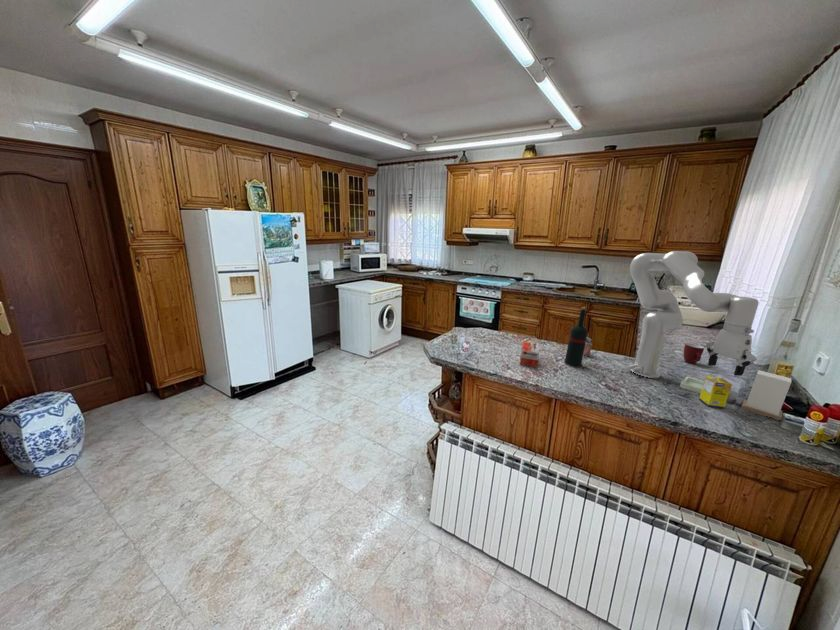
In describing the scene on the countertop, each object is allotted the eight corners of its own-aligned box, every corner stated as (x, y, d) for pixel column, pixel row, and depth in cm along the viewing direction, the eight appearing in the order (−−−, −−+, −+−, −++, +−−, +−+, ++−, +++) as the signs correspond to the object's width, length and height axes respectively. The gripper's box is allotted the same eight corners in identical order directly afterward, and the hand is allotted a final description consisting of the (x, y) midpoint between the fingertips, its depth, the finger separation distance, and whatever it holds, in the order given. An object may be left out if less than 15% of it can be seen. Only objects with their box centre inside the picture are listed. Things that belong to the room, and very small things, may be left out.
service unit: (780, 421, 122) (795, 384, 118) (740, 408, 130) (753, 373, 126) (781, 414, 128) (795, 378, 124) (743, 402, 136) (755, 368, 131)
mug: (706, 368, 171) (712, 350, 168) (690, 366, 172) (695, 349, 169) (691, 360, 181) (696, 343, 179) (677, 359, 182) (681, 342, 179)
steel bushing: (729, 404, 133) (732, 395, 132) (716, 398, 138) (719, 389, 137) (738, 403, 134) (741, 395, 133) (725, 397, 139) (728, 389, 138)
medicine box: (536, 367, 159) (539, 352, 157) (519, 365, 161) (522, 350, 159) (535, 357, 173) (538, 343, 171) (520, 354, 175) (522, 340, 173)
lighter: (577, 351, 184) (580, 335, 182) (582, 351, 185) (586, 335, 182) (585, 357, 177) (589, 339, 174) (591, 357, 177) (594, 340, 174)
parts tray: (714, 398, 138) (715, 393, 137) (679, 387, 146) (680, 383, 146) (718, 390, 145) (719, 386, 145) (685, 380, 154) (686, 376, 154)
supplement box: (724, 409, 129) (732, 384, 126) (707, 406, 130) (715, 382, 127) (714, 401, 135) (722, 377, 132) (698, 399, 136) (705, 375, 133)
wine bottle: (579, 360, 171) (590, 305, 163) (582, 367, 162) (594, 310, 154) (563, 358, 173) (573, 303, 165) (565, 365, 164) (576, 308, 156)
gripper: (771, 335, 116) (757, 379, 120) (720, 322, 133) (709, 361, 137) (754, 335, 115) (741, 379, 119) (705, 322, 131) (694, 362, 136)
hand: (724, 370), depth 128 cm, fingers open, 9 cm apart
